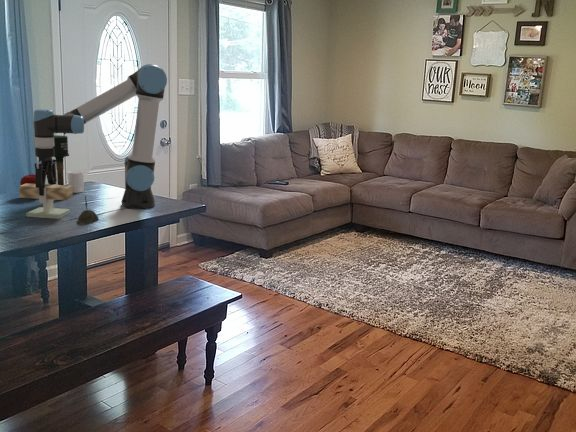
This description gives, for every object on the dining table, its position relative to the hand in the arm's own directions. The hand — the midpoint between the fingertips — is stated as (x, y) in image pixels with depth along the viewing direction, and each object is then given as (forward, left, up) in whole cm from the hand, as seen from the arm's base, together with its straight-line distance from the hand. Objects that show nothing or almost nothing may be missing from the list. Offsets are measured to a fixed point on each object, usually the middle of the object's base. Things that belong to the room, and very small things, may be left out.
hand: (47, 201), depth 253 cm
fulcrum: (0, 0, -6) cm, 6 cm away
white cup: (+9, -47, -6) cm, 48 cm away
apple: (+22, -28, -6) cm, 36 cm away
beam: (0, 0, +2) cm, 2 cm away
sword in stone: (-20, +5, -6) cm, 22 cm away
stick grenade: (+8, -28, -6) cm, 30 cm away
